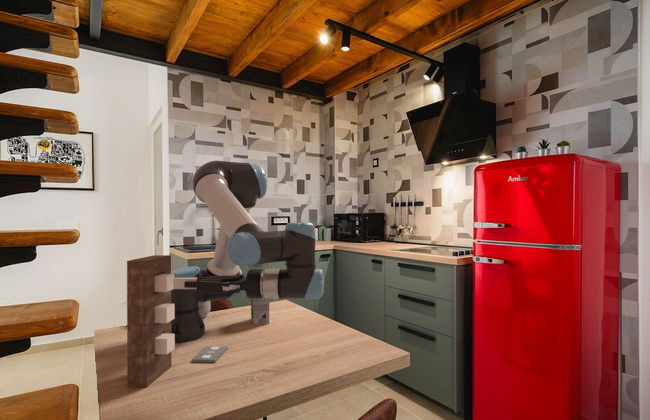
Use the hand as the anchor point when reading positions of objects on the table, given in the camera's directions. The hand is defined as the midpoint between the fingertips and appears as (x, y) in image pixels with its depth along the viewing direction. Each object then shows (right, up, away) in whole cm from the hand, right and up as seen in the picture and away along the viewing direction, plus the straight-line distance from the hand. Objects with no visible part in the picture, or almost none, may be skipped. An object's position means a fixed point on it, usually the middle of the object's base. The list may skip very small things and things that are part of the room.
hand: (174, 283), depth 93 cm
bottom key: (-3, -18, 0) cm, 18 cm away
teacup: (-13, -26, +55) cm, 62 cm away
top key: (-3, -2, +1) cm, 4 cm away
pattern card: (+5, -25, +14) cm, 28 cm away
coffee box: (+14, -25, +47) cm, 55 cm away
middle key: (-3, -10, 0) cm, 10 cm away
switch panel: (-7, -24, +1) cm, 25 cm away
